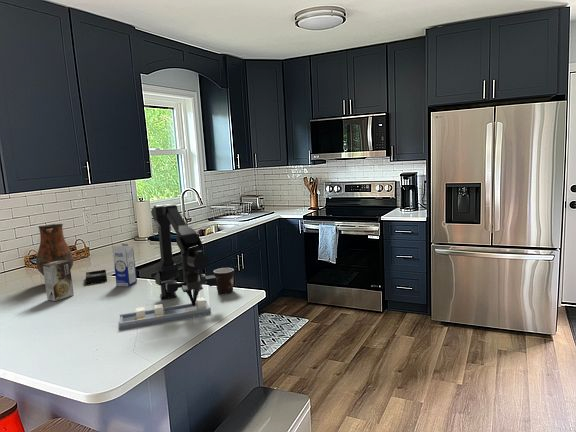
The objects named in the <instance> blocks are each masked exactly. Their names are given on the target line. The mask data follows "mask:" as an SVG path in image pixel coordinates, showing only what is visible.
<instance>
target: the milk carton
mask: <svg viewBox="0 0 576 432" xmlns="http://www.w3.org/2000/svg"><path fill="white" fill-rule="evenodd" d="M111 249H112V254H113V255H112V257H113V266H114V273H115V281H116V283H115V284H116V287H131V286H133V285H134V284H137V282H138V280H137V272H136V271H137V269H136V261H135V249H134V246H130V245H129V243H121V245H112V246H111Z"/></svg>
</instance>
